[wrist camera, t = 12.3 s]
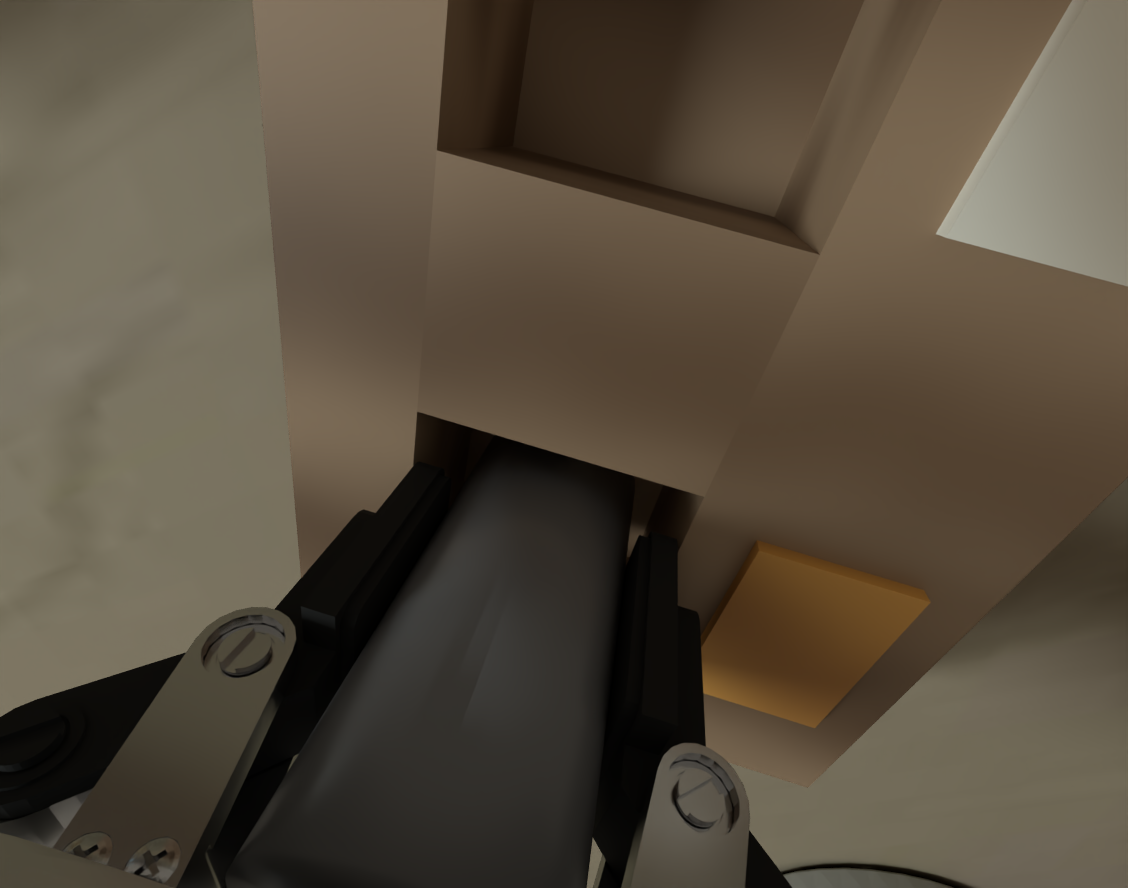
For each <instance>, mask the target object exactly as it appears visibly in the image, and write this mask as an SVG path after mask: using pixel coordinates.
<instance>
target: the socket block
mask: <svg viewBox="0 0 1128 888" xmlns="http://www.w3.org/2000/svg"><path fill="white" fill-rule="evenodd" d="M252 2H253V14H254V25H255V37H256V49H257V61H258V73H259V85H260V96H261V108H262V120H263V132H264V144H265V155H266V167H267V179H268V191H269V203H270V215H271V226H272V238H273V250H274V262H275V274H276V286H277V297H278V309H279V321H280V333H281V345H282V357H283V368H284V380H285V392H286V404H287V416H288V428H289V439H290V451H291V463H292V475H293V487H294V499H295V510H296V522H297V534H298V546H299V558H300V569H301V578H302V576H303V575H304V574H305V573H306V572H307V571H308V569H309V568H310V567H311V566H312V565H313V564H314V562H315V561H316V560H317V559H318V558H319V557H320V555H321V554H322V553H323V552H324V551H325V550H326V548H327V547H328V546H329V545H330V544H331V542H332V541H333V540H334V539H335V538H336V537H337V535H338V534H339V533H340V532H341V531H342V530H343V528H344V527H345V526H346V525H347V524H348V523H349V521H350V520H351V519H352V518H353V517H354V516H355V515H356V514H357V513H358V512H359V511H361V510H363V509H364V510H368V511H371V512H374V513H376V512H377V511H378V509H379V508H380V507H381V506H382V504H383V503H384V502H385V501H386V499H387V498H388V497H389V496H390V494H391V493H392V492H393V491H394V489H395V488H396V487H397V486H398V484H399V483H400V482H401V481H402V479H403V478H404V477H405V476H406V475H407V473H408V472H409V471H410V470H411V468H412V467H413V466H414V465H415V464H416V463H417V462H419V461H420V462H423V463H426V464H430V465H433V466H436V467H440V468H443V469H444V471H445V476H446V477H449V478H451V490H450V498H449V506H448V510H449V508H450V507H451V505H452V503H453V502H454V500H455V498H456V497H457V495H458V494H459V492H460V490H461V489H462V487H463V485H464V484H465V482H466V481H467V479H468V477H469V476H470V474H471V472H472V471H473V469H474V468H475V466H476V464H477V463H478V461H479V459H480V458H481V456H482V454H483V453H484V451H485V450H486V448H487V446H488V445H489V443H490V442H491V440H492V438H493V437H494V436H495V435H498V436H501V437H504V438H508V439H511V440H515V441H518V442H521V443H525V444H528V445H531V446H535V447H538V448H541V449H545V450H548V451H552V452H555V453H558V454H562V455H565V456H568V457H572V458H575V459H578V460H582V461H585V462H589V463H592V464H595V465H599V466H602V467H605V468H609V469H612V470H615V471H619V472H622V473H626V474H629V475H632V476H634V478H635V493H634V501H633V509H632V518H631V526H630V534H629V542H628V550H627V559H626V565H627V563H628V560H629V558H630V555H631V553H632V550H633V548H634V546H635V543H636V541H637V538H638V536H639V535H641V536H645V537H648V535H649V533H650V532H651V531H652V532H656V533H659V534H662V535H666V536H669V537H672V538H676V539H677V543H678V606H681V607H684V608H687V609H691V610H694V611H697V612H698V615H699V619H700V633H701V654H702V675H703V695H704V716H705V737H706V747H708V748H710V749H712V750H713V751H715V752H716V753H718V754H719V755H720V756H722V757H723V758H724V759H725V760H726V761H727V762H729V763H732V764H735V765H738V766H742V767H745V768H748V769H751V770H754V771H757V772H760V773H763V774H767V775H770V776H773V777H776V778H779V779H782V780H785V781H788V782H792V783H795V784H798V785H801V786H804V787H807V788H808V787H809V786H810V785H811V784H812V783H813V782H814V781H815V780H816V779H817V778H818V777H819V776H820V775H821V774H822V773H824V772H825V771H826V770H827V769H828V768H829V767H830V766H831V765H832V764H833V763H834V762H835V761H836V760H837V759H838V758H839V757H840V756H841V755H842V754H843V753H844V752H845V751H846V750H847V749H848V748H849V747H850V746H851V745H852V744H853V743H854V742H855V741H856V740H857V739H859V738H860V737H861V736H862V735H863V734H864V733H865V732H866V731H867V730H868V729H869V728H870V727H871V726H872V725H873V724H874V723H875V722H876V721H877V720H878V719H879V718H880V717H881V716H882V715H883V714H884V713H885V712H886V711H887V710H888V709H889V708H890V707H891V706H892V705H894V704H895V703H896V702H897V701H898V700H899V699H900V698H901V697H902V696H903V695H904V694H905V693H906V692H907V691H908V690H909V689H910V688H911V687H912V686H913V685H914V684H915V683H916V682H917V681H918V680H919V679H920V678H921V677H922V676H923V675H924V674H925V673H926V672H927V671H929V670H930V669H931V668H932V667H933V666H934V665H935V664H936V663H937V662H938V661H939V660H940V659H941V658H942V657H943V656H944V655H945V654H946V653H947V652H948V651H949V650H950V649H951V648H952V647H953V646H954V645H955V644H956V643H957V642H958V641H959V640H960V639H961V638H962V637H964V636H965V635H966V634H967V633H968V632H969V631H970V630H971V629H972V628H973V627H974V626H975V625H976V624H977V623H978V622H979V621H980V620H981V619H982V618H983V617H984V616H985V615H986V614H987V613H988V612H989V611H990V610H991V609H992V608H993V607H994V606H995V605H996V604H997V603H999V602H1000V601H1001V600H1002V599H1003V598H1004V597H1005V596H1006V595H1007V594H1008V593H1009V592H1010V591H1011V590H1012V589H1013V588H1014V587H1015V586H1016V585H1017V584H1018V583H1019V582H1020V581H1021V580H1022V579H1023V578H1024V577H1025V576H1026V575H1027V574H1028V573H1029V572H1030V571H1031V570H1032V569H1034V568H1035V567H1036V566H1037V565H1038V564H1039V563H1040V562H1041V561H1042V560H1043V559H1044V558H1045V557H1046V556H1047V555H1048V554H1049V553H1050V552H1051V551H1052V550H1053V549H1054V548H1055V547H1056V546H1057V545H1058V544H1059V543H1060V542H1061V541H1062V540H1063V539H1064V538H1065V537H1066V536H1067V535H1069V534H1070V533H1071V532H1072V531H1073V530H1074V529H1075V528H1076V527H1077V526H1078V525H1079V524H1080V523H1081V522H1082V521H1083V520H1084V519H1085V518H1086V517H1087V516H1088V515H1089V514H1090V513H1091V512H1092V511H1093V510H1094V509H1095V508H1096V507H1097V506H1098V505H1099V504H1100V503H1101V502H1103V501H1104V500H1105V499H1106V498H1107V497H1108V496H1109V495H1110V494H1111V493H1112V492H1113V491H1114V490H1115V489H1116V488H1117V487H1118V486H1119V485H1120V484H1121V483H1122V482H1123V481H1124V480H1125V479H1126V478H1127V477H1128V0H252Z"/></svg>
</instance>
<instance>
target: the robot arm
mask: <svg viewBox="0 0 1128 888" xmlns="http://www.w3.org/2000/svg"><path fill="white" fill-rule="evenodd" d="M450 490H451V478H449V477H446V476H445V471H444V469H443V468H440V467H436V466H433V465H430V464H426V463H423V462H420V461H419V462H417V463H416V464H415V465H414V466H413V467H412V468H411V470H410V471H409V472H408V473H407V475H406V476H405V477H404V478H403V479H402V481H401V482H400V483H399V484H398V486H397V487H396V488H395V489H394V491H393V492H392V493H391V494H390V496H389V497H388V498H387V499H386V501H385V502H384V503H383V504H382V506H381V507H380V508H379V509H378V511H377V512H376V513H374V512H371V511H368V510H364V509H363V510H361V511H359V512H358V513H357V514H356V515H355V516H354V517H353V518H352V519H351V520H350V521H349V523H348V524H347V525H346V526H345V527H344V528H343V530H342V531H341V532H340V533H339V534H338V535H337V537H336V538H335V539H334V540H333V541H332V542H331V544H330V545H329V546H328V547H327V548H326V550H325V551H324V552H323V553H322V554H321V555H320V557H319V558H318V559H317V560H316V561H315V562H314V564H313V565H312V566H311V567H310V568H309V569H308V571H307V572H306V573H305V574H304V575H303V576H302V578H301V579H300V580H299V581H298V582H297V584H296V585H295V586H294V587H293V588H292V589H291V591H290V592H289V593H288V594H287V595H286V596H285V598H284V599H283V600H282V601H281V602H280V603H279V605H278V606H277V607H276V608H275V609H271V608H267V607H250V608H245V609H241V610H236V611H234V612H231V613H229V614H227V615H224V616H222V617H220V618H218V619H217V620H215V621H214V622H213V623H211V624H210V625H208V626H207V627H206V628H205V629H204V630H203V631H202V632H201V633H200V634H199V636H198V637H197V638H196V639H195V640H194V642H193V643H192V645H191V646H190V648H189V649H188V651H187V652H186V653H183V654H180V655H176V656H173V657H170V658H167V659H164V660H161V661H157V662H154V663H151V664H148V665H145V666H141V667H138V668H135V669H132V670H129V671H126V672H122V673H119V674H116V675H113V676H110V677H107V678H103V679H100V680H97V681H94V682H91V683H88V684H84V685H81V686H78V687H75V688H72V689H68V690H65V691H62V692H59V693H56V694H53V695H49V696H46V697H43V698H40V699H37V700H34V701H32V702H29V703H27V704H25V705H22V706H20V707H17V708H15V709H13V710H11V711H10V712H8V713H6V714H5V715H3V716H2V717H0V888H227V885H226V881H225V877H226V872H227V870H228V869H229V867H230V865H231V864H232V862H233V860H234V859H235V857H236V856H237V854H238V852H239V851H240V849H241V847H242V846H243V844H244V842H245V841H246V839H247V838H248V836H249V834H250V833H251V831H252V829H253V828H254V826H255V825H256V823H257V821H258V820H259V818H260V816H261V815H262V813H263V812H264V810H265V808H266V807H267V805H268V803H269V802H270V800H271V798H272V797H273V795H274V794H275V792H276V790H277V789H278V787H279V785H280V784H281V782H282V781H283V779H284V777H285V776H286V774H287V772H288V771H289V769H290V767H291V766H292V764H293V763H294V761H295V759H296V758H297V756H298V754H299V753H300V751H301V750H302V748H303V746H304V745H305V743H306V741H307V740H308V738H309V737H310V735H311V733H312V732H313V730H314V728H315V727H316V725H317V723H318V722H319V720H320V719H321V717H322V715H323V714H324V712H325V710H326V709H327V707H328V706H329V704H330V702H331V701H332V699H333V697H334V696H335V694H336V693H337V691H338V689H339V688H340V686H341V684H342V683H343V681H344V679H345V678H346V676H347V675H348V673H349V671H350V670H351V668H352V666H353V665H354V663H355V662H356V660H357V658H358V657H359V655H360V653H361V652H362V650H363V648H364V647H365V645H366V644H367V642H368V640H369V639H370V637H371V635H372V634H373V632H374V631H375V629H376V627H377V626H378V624H379V622H380V621H381V619H382V618H383V616H384V614H385V613H386V611H387V609H388V608H389V606H390V604H391V603H392V601H393V600H394V598H395V596H396V595H397V593H398V591H399V590H400V588H401V587H402V585H403V583H404V582H405V580H406V578H407V577H408V575H409V573H410V572H411V570H412V569H413V567H414V565H415V564H416V562H417V560H418V559H419V557H420V556H421V554H422V552H423V551H424V549H425V547H426V546H427V544H428V543H429V541H430V539H431V538H432V536H433V534H434V533H435V531H436V529H437V528H438V526H439V525H440V523H441V521H442V520H443V518H444V516H445V515H446V513H447V512H448V506H449V498H450ZM749 824H750V811H749V800H748V797H747V794H746V791H745V788H744V785H743V783H742V782H741V780H740V778H739V777H738V775H737V773H736V772H735V770H734V769H733V768H732V767H731V765H730V764H729V763H728V762H727V761H726V760H725V759H724V758H723V757H722V756H720V755H719V754H718V753H716V752H715V751H713V750H712V749H710V748H708V747H706V737H705V716H704V695H703V675H702V654H701V633H700V619H699V615H698V612H697V611H694V610H691V609H687V608H684V607H681V606H678V543H677V539H676V538H672V537H669V536H666V535H662V534H659V533H656V532H652V531H651V532H650V533H649V535H648V537H645V536H641V535H639V536H638V538H637V541H636V543H635V546H634V548H633V550H632V553H631V555H630V558H629V560H628V563H627V565H626V567H625V575H624V583H623V591H622V600H621V608H620V616H619V624H618V632H617V641H616V649H615V657H614V665H613V674H612V682H611V690H610V698H609V706H608V715H607V723H606V731H605V739H604V747H603V756H602V764H601V772H600V780H599V789H598V797H597V805H596V813H595V821H594V830H593V838H594V840H595V842H596V843H597V845H598V847H599V849H600V851H601V852H602V857H601V861H600V864H599V868H598V871H597V875H596V878H595V882H594V885H593V888H954V887H950V886H947V885H944V884H941V883H938V882H935V881H932V880H928V879H924V878H919V877H915V876H911V875H906V874H901V873H894V872H887V871H880V870H872V869H856V868H820V869H811V870H803V871H796V872H792V873H788V874H782V873H781V872H780V870H779V869H778V868H777V866H776V865H775V864H774V862H773V861H772V860H771V858H770V857H769V856H768V854H767V853H766V852H765V850H764V849H763V848H762V846H761V845H760V844H759V843H758V841H757V840H756V839H755V837H754V836H753V835H752V833H751V832H750V831H749Z"/></svg>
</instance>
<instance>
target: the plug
mask: <svg viewBox="0 0 1128 888" xmlns="http://www.w3.org/2000/svg"><path fill="white" fill-rule="evenodd" d="M634 493H635V478H634V476H632V475H629V474H626V473H622V472H619V471H615V470H612V469H609V468H605V467H602V466H599V465H595V464H592V463H589V462H585V461H582V460H578V459H575V458H572V457H568V456H565V455H562V454H558V453H555V452H552V451H548V450H545V449H541V448H538V447H535V446H531V445H528V444H525V443H521V442H518V441H515V440H511V439H508V438H504V437H501V436H498V435H495V436H494V437H493V438H492V440H491V442H490V443H489V445H488V446H487V448H486V450H485V451H484V453H483V454H482V456H481V458H480V459H479V461H478V463H477V464H476V466H475V468H474V469H473V471H472V472H471V474H470V476H469V477H468V479H467V481H466V482H465V484H464V485H463V487H462V489H461V490H460V492H459V494H458V495H457V497H456V498H455V500H454V502H453V503H452V505H451V507H450V508H449V510H448V512H447V513H446V515H445V516H444V518H443V520H442V521H441V523H440V525H439V526H438V528H437V529H436V531H435V533H434V534H433V536H432V538H431V539H430V541H429V543H428V544H427V546H426V547H425V549H424V551H423V552H422V554H421V556H420V557H419V559H418V560H417V562H416V564H415V565H414V567H413V569H412V570H411V572H410V573H409V575H408V577H407V578H406V580H405V582H404V583H403V585H402V587H401V588H400V590H399V591H398V593H397V595H396V596H395V598H394V600H393V601H392V603H391V604H390V606H389V608H388V609H387V611H386V613H385V614H384V616H383V618H382V619H381V621H380V622H379V624H378V626H377V627H376V629H375V631H374V632H373V634H372V635H371V637H370V639H369V640H368V642H367V644H366V645H365V647H364V648H363V650H362V652H361V653H360V655H359V657H358V658H357V660H356V662H355V663H354V665H353V666H352V668H351V670H350V671H349V673H348V675H347V676H346V678H345V679H344V681H343V683H342V684H341V686H340V688H339V689H338V691H337V693H336V694H335V696H334V697H333V699H332V701H331V702H330V704H329V706H328V707H327V709H326V710H325V712H324V714H323V715H322V717H321V719H320V720H319V722H318V723H317V725H316V727H315V728H314V730H313V732H312V733H311V735H310V737H309V738H308V740H307V741H306V743H305V745H304V746H303V748H302V750H301V751H300V753H299V754H298V756H297V758H296V759H295V761H294V763H293V764H292V766H291V767H290V769H289V771H288V772H287V774H286V776H285V777H284V779H283V781H282V782H281V784H280V785H279V787H278V789H277V790H276V792H275V794H274V795H273V797H272V798H271V800H270V802H269V803H268V805H267V807H266V808H265V810H264V812H263V813H262V815H261V816H260V818H259V820H258V821H257V823H256V825H255V826H254V828H253V829H252V831H251V833H250V834H249V836H248V838H247V839H246V841H245V842H244V844H243V846H242V847H241V849H240V851H239V852H238V854H237V856H236V857H235V859H234V860H233V862H232V864H231V865H230V867H229V869H228V870H227V872H226V877H225V881H226V885H227V888H586V887H587V879H588V871H589V862H590V854H591V846H592V838H593V830H594V821H595V813H596V805H597V797H598V789H599V780H600V772H601V764H602V756H603V747H604V739H605V731H606V723H607V715H608V706H609V698H610V690H611V682H612V674H613V665H614V657H615V649H616V641H617V632H618V624H619V616H620V608H621V600H622V591H623V583H624V575H625V567H626V559H627V550H628V542H629V534H630V526H631V518H632V509H633V501H634Z"/></svg>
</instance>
